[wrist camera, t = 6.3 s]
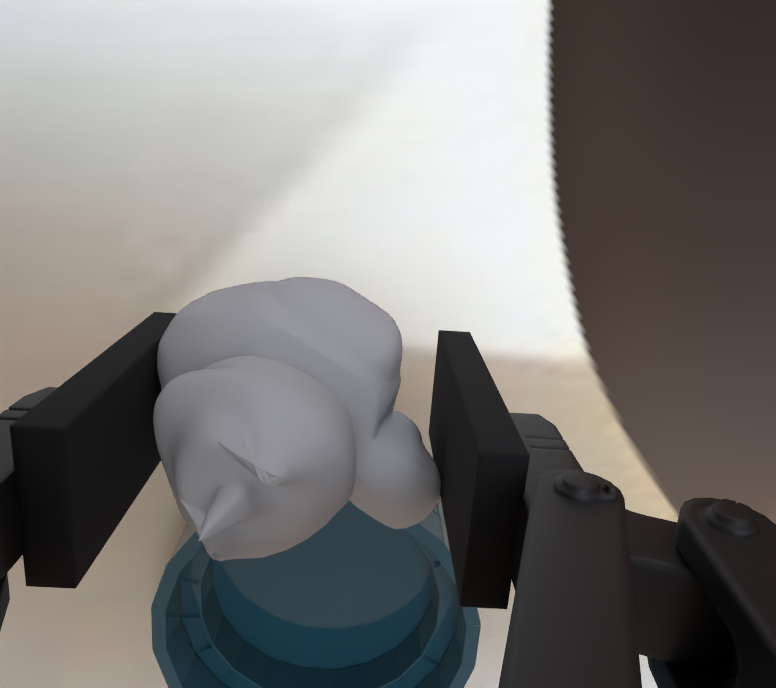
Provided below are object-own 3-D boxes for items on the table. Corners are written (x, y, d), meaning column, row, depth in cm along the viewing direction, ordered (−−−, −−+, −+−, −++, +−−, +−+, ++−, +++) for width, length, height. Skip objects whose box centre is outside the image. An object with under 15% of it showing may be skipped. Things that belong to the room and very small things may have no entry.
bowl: (181, 431, 29) (146, 481, 25) (480, 450, 29) (498, 503, 25) (185, 676, 33) (155, 757, 28) (449, 689, 33) (460, 771, 29)
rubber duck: (256, 204, 15) (135, 270, 8) (485, 357, 16) (581, 547, 9) (143, 387, 16) (-58, 602, 9) (363, 517, 18) (354, 805, 10)
